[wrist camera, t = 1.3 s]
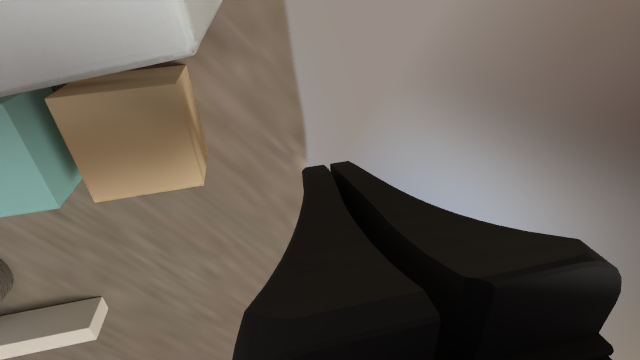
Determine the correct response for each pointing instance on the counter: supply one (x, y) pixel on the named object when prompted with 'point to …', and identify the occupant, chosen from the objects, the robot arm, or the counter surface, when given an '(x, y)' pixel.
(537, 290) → the robot arm
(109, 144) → the oak block
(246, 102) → the counter surface
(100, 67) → the small box
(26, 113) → the teal block
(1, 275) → the aluminium part
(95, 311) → the frame
